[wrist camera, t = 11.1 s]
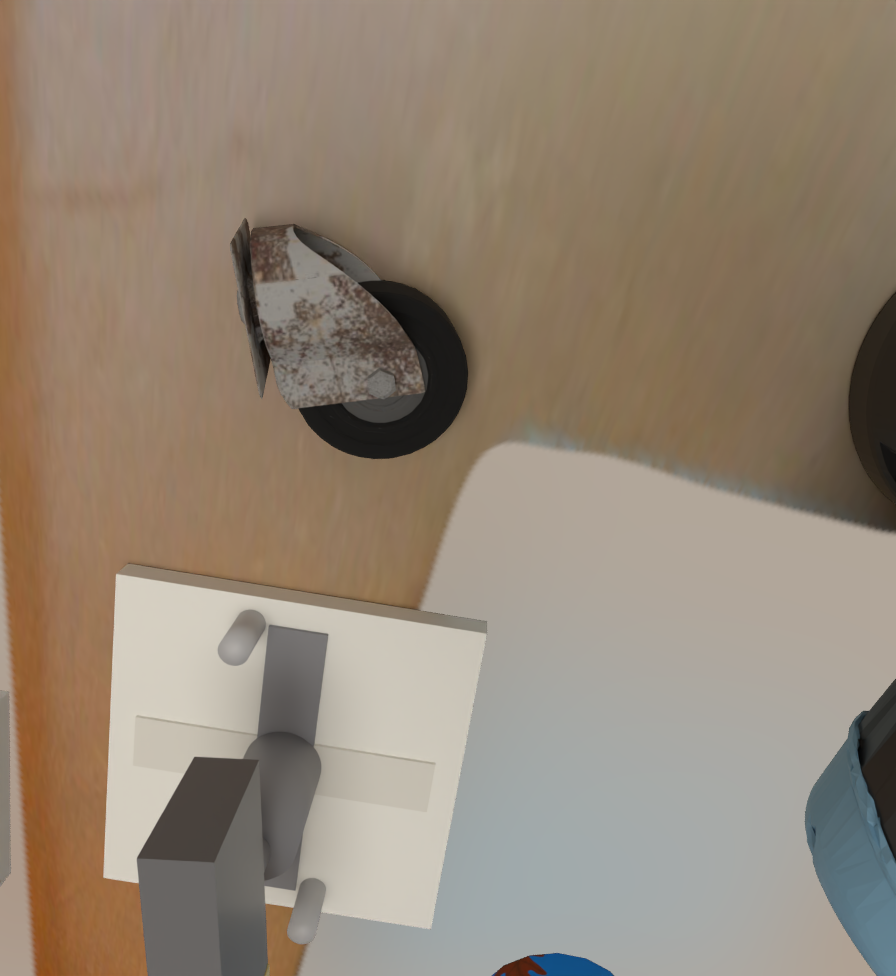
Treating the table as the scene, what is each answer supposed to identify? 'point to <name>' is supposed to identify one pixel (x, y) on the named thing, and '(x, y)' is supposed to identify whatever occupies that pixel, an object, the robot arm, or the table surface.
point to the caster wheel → (347, 343)
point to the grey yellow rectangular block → (207, 875)
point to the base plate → (296, 733)
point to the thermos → (552, 966)
